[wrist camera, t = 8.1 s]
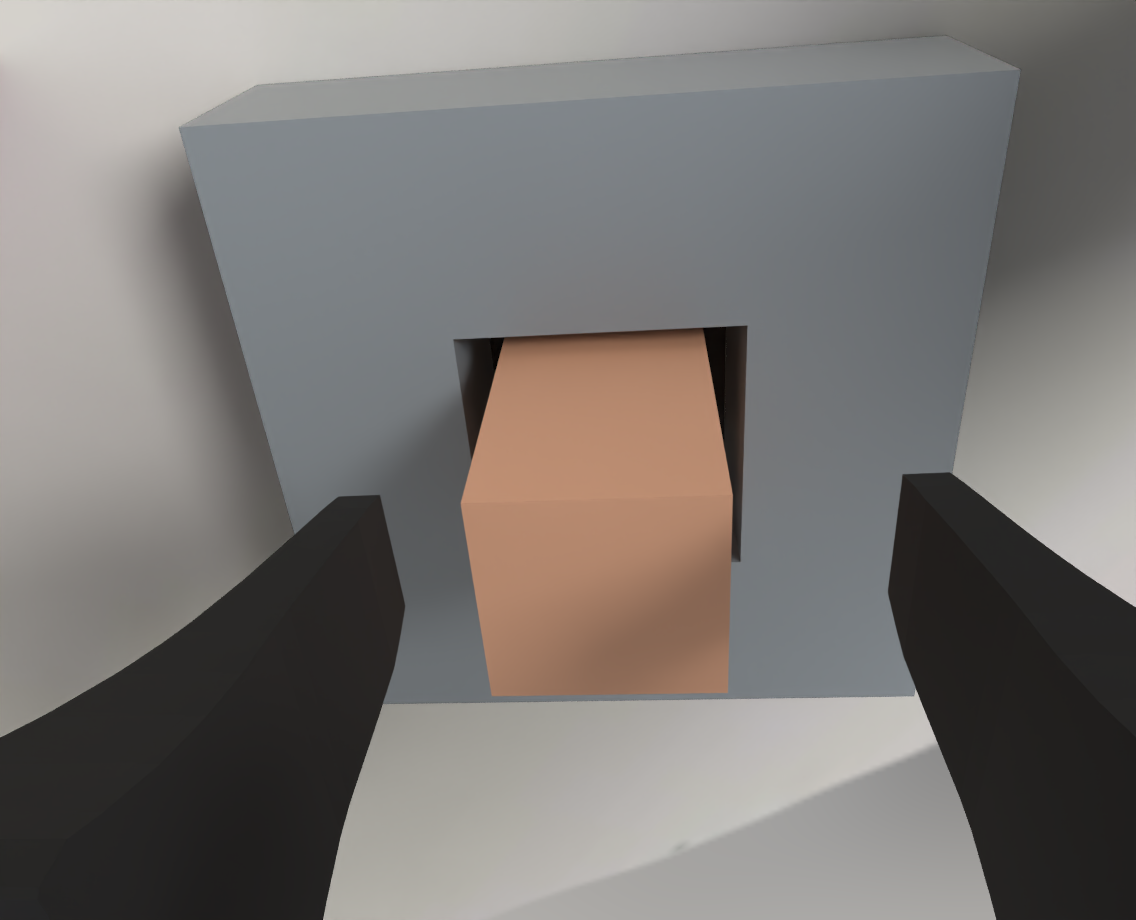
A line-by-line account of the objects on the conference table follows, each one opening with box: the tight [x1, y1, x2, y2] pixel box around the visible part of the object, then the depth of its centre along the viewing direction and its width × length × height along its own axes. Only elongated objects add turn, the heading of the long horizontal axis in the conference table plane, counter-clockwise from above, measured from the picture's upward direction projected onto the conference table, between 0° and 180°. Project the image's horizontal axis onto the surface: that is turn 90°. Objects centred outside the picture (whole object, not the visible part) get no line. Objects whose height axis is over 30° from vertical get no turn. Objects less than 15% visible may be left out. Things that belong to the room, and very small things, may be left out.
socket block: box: [179, 35, 1021, 704], centre depth 21 cm, size 14×14×4 cm
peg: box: [461, 328, 733, 696], centre depth 18 cm, size 4×4×9 cm
